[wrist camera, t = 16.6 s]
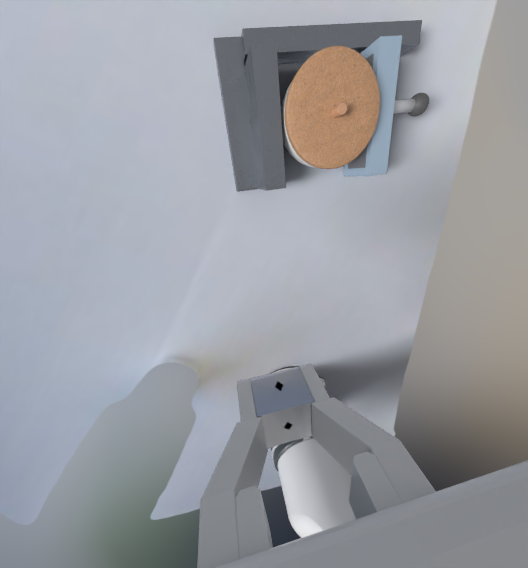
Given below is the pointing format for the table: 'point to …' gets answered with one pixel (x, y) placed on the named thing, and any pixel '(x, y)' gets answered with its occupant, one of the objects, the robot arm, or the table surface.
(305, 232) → the table surface
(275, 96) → the vise body
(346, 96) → the lidded jar
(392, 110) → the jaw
